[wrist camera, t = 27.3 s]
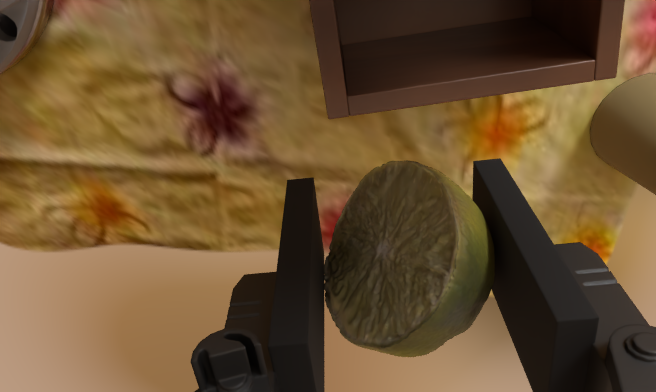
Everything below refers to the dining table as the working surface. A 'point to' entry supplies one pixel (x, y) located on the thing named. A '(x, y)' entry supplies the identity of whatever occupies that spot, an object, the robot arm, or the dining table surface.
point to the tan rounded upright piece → (629, 130)
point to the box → (458, 49)
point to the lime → (408, 261)
